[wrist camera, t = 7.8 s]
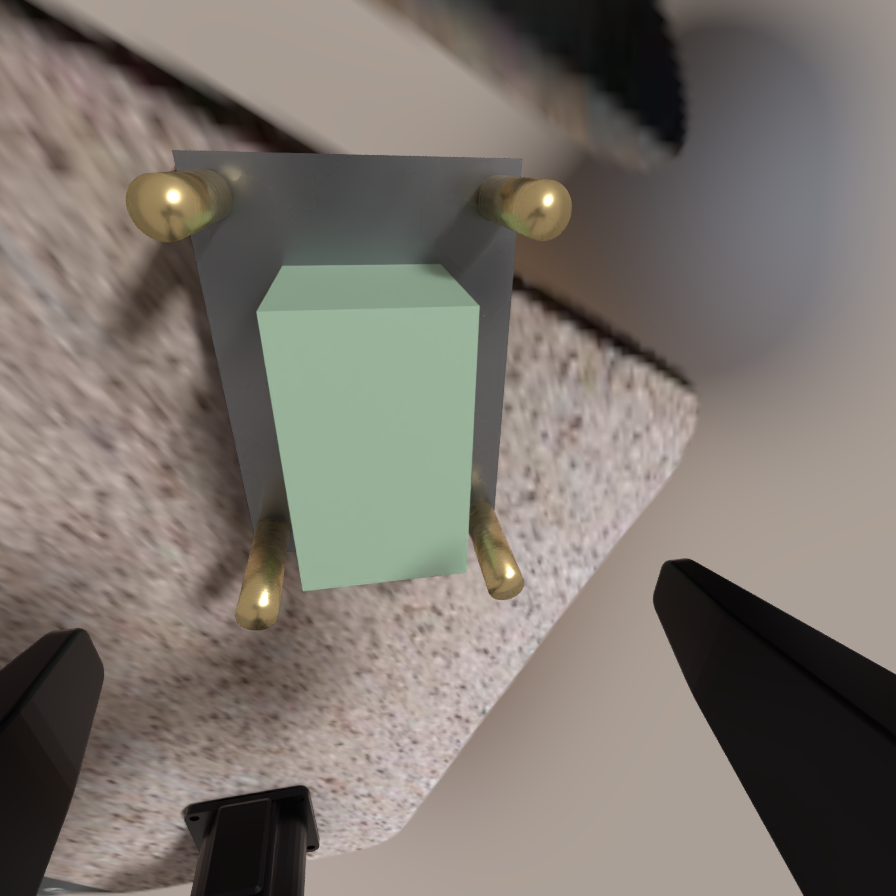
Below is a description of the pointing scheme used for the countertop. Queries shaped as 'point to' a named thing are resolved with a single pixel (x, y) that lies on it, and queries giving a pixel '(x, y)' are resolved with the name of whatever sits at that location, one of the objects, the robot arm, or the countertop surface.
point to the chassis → (345, 243)
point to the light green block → (373, 418)
